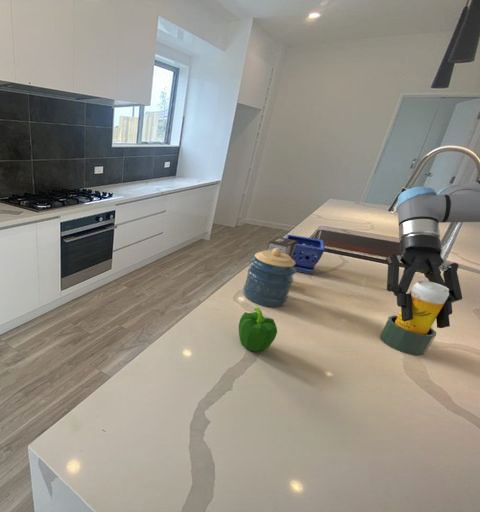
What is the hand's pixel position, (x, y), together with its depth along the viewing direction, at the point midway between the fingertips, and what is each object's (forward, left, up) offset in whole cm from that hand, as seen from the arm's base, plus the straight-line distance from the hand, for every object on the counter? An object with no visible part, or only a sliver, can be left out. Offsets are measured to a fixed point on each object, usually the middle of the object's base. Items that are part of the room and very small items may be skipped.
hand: (425, 323), depth 72 cm
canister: (+32, -15, -9) cm, 36 cm away
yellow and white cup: (0, -4, -7) cm, 7 cm away
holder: (0, -4, -9) cm, 10 cm away
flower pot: (+17, -49, -9) cm, 52 cm away
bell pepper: (+37, +14, -9) cm, 41 cm away
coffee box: (+28, -30, -9) cm, 42 cm away
